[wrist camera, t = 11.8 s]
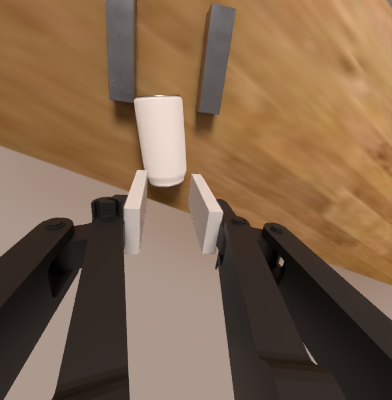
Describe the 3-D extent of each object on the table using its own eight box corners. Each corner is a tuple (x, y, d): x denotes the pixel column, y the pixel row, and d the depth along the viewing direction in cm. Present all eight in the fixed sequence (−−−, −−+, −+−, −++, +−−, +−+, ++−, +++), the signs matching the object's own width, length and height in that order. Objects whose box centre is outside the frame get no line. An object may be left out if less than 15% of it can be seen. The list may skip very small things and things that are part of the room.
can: (171, 94, 23) (179, 189, 29) (188, 95, 29) (191, 175, 34) (122, 97, 25) (138, 187, 30) (147, 97, 31) (156, 173, 36)
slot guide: (114, 100, 29) (109, 99, 26) (110, -10, 24) (104, -24, 22) (214, 114, 32) (219, 114, 29) (228, 18, 27) (235, 8, 25)
